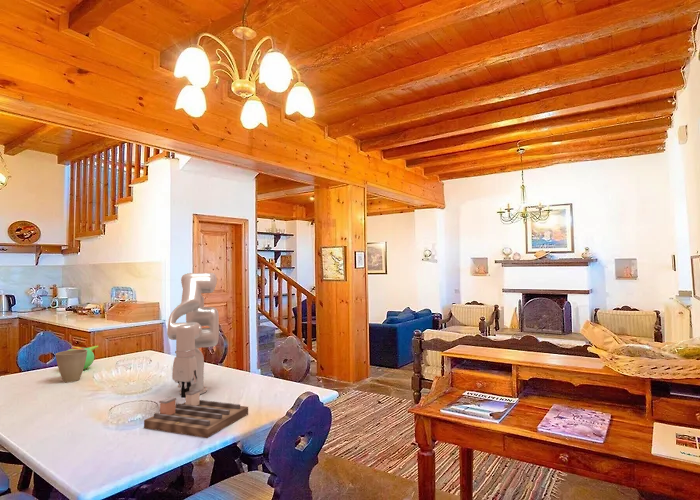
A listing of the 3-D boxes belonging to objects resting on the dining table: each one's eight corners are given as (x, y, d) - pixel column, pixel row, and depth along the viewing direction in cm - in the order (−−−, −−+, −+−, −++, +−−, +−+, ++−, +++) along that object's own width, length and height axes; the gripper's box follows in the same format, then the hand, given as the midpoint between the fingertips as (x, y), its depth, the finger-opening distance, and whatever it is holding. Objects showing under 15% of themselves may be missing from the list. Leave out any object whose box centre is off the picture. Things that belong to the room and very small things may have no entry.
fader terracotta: (159, 416, 164) (159, 400, 164) (169, 411, 169) (169, 396, 169) (166, 417, 163) (166, 401, 163) (176, 412, 168) (176, 397, 168)
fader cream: (184, 407, 175) (184, 392, 175) (193, 403, 180) (193, 389, 180) (191, 408, 174) (191, 393, 174) (200, 404, 179) (200, 389, 179)
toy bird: (54, 372, 251) (54, 348, 252) (76, 366, 268) (77, 343, 269) (80, 373, 248) (80, 348, 249) (101, 366, 265) (101, 343, 266)
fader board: (143, 427, 161) (144, 415, 161) (190, 406, 185) (190, 396, 186) (207, 437, 151) (207, 424, 151) (248, 413, 175) (248, 402, 175)
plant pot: (80, 375, 243) (80, 348, 243) (91, 379, 234) (92, 351, 235) (50, 381, 230) (51, 352, 231) (61, 385, 222) (61, 355, 222)
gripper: (165, 354, 178) (165, 397, 177) (193, 356, 173) (193, 401, 172) (178, 351, 185) (177, 392, 184) (205, 353, 180) (205, 396, 179)
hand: (185, 396), depth 178 cm, fingers closed
